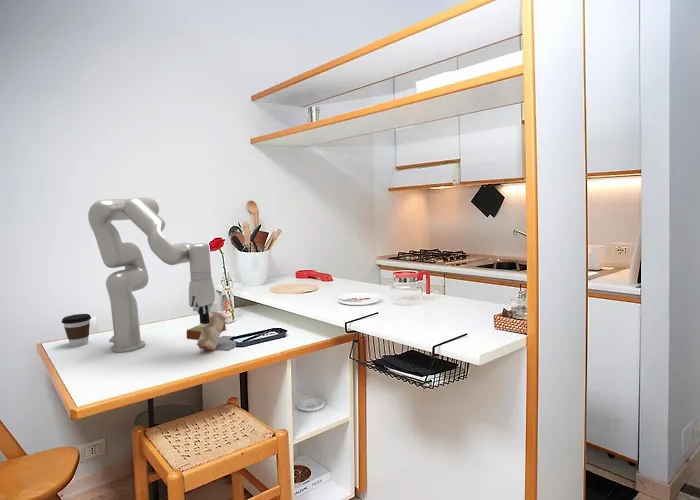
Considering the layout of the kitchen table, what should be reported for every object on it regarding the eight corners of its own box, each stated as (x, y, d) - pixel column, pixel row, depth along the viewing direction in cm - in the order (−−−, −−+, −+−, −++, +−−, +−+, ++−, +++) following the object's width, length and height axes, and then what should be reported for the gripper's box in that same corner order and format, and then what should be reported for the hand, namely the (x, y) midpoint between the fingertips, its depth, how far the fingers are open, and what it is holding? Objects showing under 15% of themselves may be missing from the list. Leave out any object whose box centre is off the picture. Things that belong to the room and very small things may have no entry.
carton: (226, 330, 213) (225, 321, 212) (201, 340, 198) (201, 331, 198) (211, 329, 216) (210, 319, 216) (186, 339, 202) (185, 329, 201)
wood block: (196, 345, 180) (209, 311, 187) (203, 350, 184) (215, 317, 191) (207, 346, 178) (219, 312, 186) (214, 350, 182) (226, 317, 190)
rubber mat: (198, 348, 187) (198, 347, 187) (223, 336, 202) (223, 335, 202) (228, 350, 182) (228, 349, 182) (251, 338, 197) (251, 337, 197)
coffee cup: (80, 348, 194) (77, 320, 192) (57, 348, 196) (54, 319, 195) (99, 340, 204) (96, 313, 203) (77, 340, 206) (75, 313, 205)
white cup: (201, 322, 228) (199, 302, 227) (218, 320, 231) (216, 300, 229) (202, 326, 220) (200, 305, 219) (219, 324, 223) (218, 303, 222)
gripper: (205, 272, 187) (209, 318, 189) (179, 279, 173) (183, 328, 175) (221, 272, 185) (224, 318, 187) (196, 279, 171) (200, 329, 173)
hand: (204, 323), depth 181 cm, fingers closed
